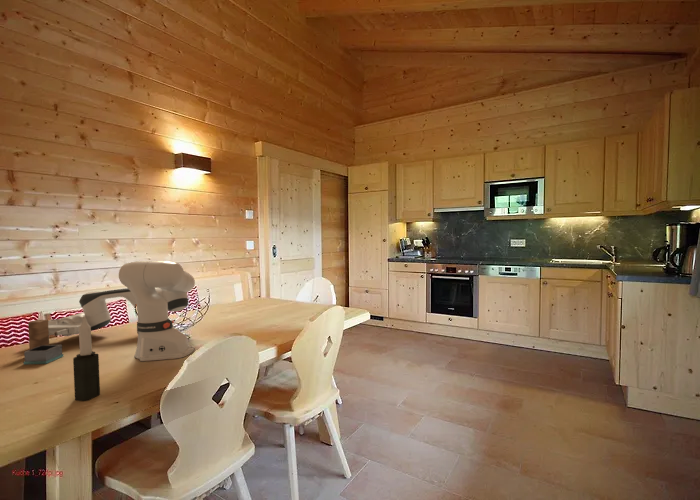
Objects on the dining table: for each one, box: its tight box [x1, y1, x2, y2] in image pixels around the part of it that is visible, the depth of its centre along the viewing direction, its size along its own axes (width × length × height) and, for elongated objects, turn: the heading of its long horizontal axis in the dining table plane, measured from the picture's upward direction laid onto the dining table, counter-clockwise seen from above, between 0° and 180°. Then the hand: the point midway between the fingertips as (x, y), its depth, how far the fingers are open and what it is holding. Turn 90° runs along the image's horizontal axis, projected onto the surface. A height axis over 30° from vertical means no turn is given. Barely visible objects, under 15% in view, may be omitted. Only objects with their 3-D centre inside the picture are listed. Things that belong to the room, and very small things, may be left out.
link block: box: [27, 319, 50, 350], centre depth 150 cm, size 4×4×14 cm
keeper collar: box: [23, 344, 64, 365], centre depth 142 cm, size 9×9×5 cm
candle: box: [72, 316, 101, 402], centre depth 108 cm, size 5×5×25 cm
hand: (44, 334), depth 154 cm, fingers open, 8 cm apart
